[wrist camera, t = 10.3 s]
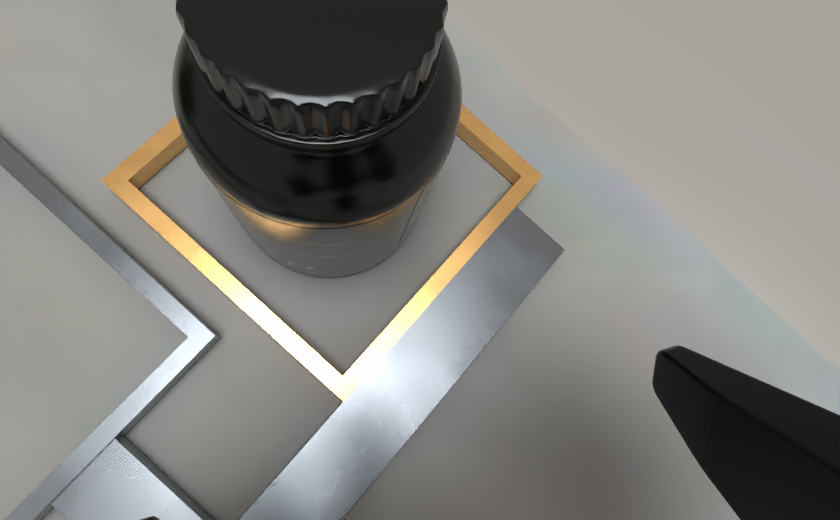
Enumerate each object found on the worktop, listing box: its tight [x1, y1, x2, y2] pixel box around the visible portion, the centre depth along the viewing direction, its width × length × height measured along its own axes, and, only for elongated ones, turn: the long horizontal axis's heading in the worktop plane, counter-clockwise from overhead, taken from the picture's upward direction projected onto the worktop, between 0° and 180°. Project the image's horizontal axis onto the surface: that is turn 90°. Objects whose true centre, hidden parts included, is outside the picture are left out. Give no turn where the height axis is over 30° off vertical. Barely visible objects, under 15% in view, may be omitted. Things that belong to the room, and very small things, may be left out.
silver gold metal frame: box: [0, 105, 564, 520], centre depth 19 cm, size 18×24×1 cm
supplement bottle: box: [173, 0, 462, 277], centre depth 15 cm, size 7×7×12 cm
